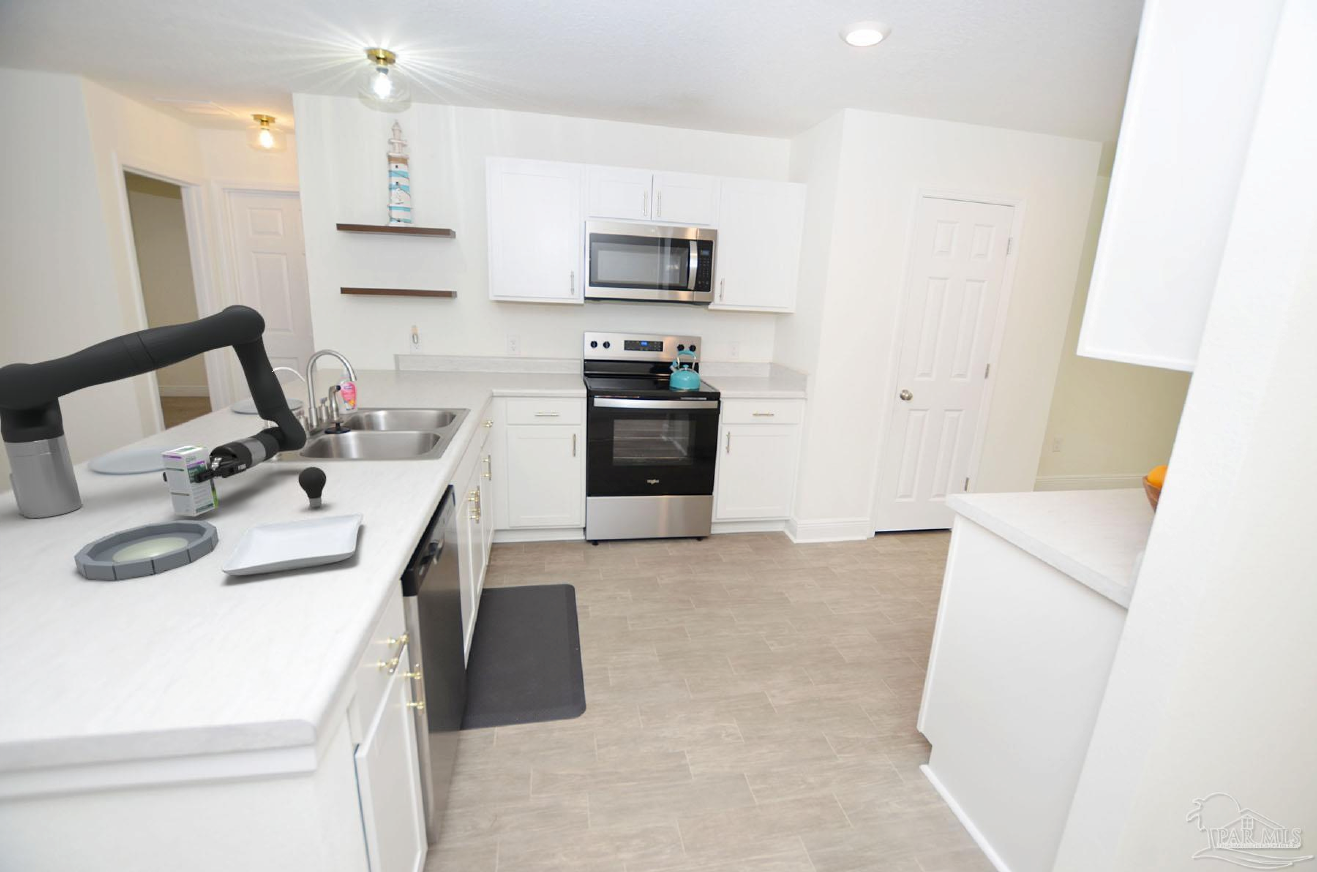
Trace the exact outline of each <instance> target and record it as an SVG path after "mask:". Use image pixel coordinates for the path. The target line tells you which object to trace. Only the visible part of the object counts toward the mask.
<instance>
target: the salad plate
mask: <svg viewBox="0 0 1317 872" xmlns="http://www.w3.org/2000/svg"><path fill="white" fill-rule="evenodd" d="M363 516H364V515H363V514H362V513H360V512H358V513H348V514H347V513H346V514H337V515H329V516H319V517H309V518H304V519H295V520H293V519H292V520H286V521H279V522H271V523H265V524H264V523H263V524H256V525H250V526H249V527H248V528H247V529H246V531H244V534H243V535H242V537H241V538H240V540H239V542H238V544H237V545H236V546H235V548H234V549H233V550H232V552H231V554H230V555H229V556H228V558H227V560H226V561H225V562H224V563H223V565H222V567H221V571H222V573H224V574H227V575H230V576H231V575H232V576H248V575H250V576H251V575H261V574H268V573H275V572H276V573H277V572H282V571H283V570H284V571H291V570H297V569H303V568H310V567H317V566H323V565H329V564H333V563H336V562H341V561H344V560H346V559H348V558H350V557H352V555H354V553H356V548H357V539H358V538H357V537H358V532H359V529H360V525H361V523H362V520H363ZM260 573H261V574H260Z"/></svg>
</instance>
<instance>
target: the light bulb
mask: <svg viewBox="0 0 1317 872" xmlns="http://www.w3.org/2000/svg"><path fill="white" fill-rule="evenodd" d="M297 481H298V483H299V486H300V487H301V489H302V490H303V491H304V492H305V493H306V496H307V498H308V501H309V506H310V507H313V508H314V509H318V508H319V507H320V506H321V505H322V504H323V503H322V502H323V499H322V496H323V491H324V490H323V489H324V488H325V485H326V483H327V475H326V473H325V471H324V470H322V469H321V468H319V467H317V466H310V467H306V468H305V469H303V470H301V472H300V473H299V475H298V479H297Z"/></svg>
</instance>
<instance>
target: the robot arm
mask: <svg viewBox="0 0 1317 872" xmlns="http://www.w3.org/2000/svg"><path fill="white" fill-rule="evenodd" d="M265 330H266V322H265V318H264V317H263V316H262V314H261V313H260V312H258V311H257V309H254V308H252V307H250V306H247V305H244V304H232V305H229V306H227V307H225V308H224V309H223V310H222V311H219V312H217V313H214V314H213V315H209V316H207V317H204V318H201V319H197V320H195V321H190V322H187V323H179V324H170V325H164V326H157V327H153V328H152V327H151V328H148V329H147V328H145V329H142V330H136V331H135V332H130V333H126V334H124V335H119V336H115V337H113V338H110V339H106V340H104V341H101V342H98V343H95V344H93V345H91V346H88V347H85V348H84V349H81V350H79V351H76V352H73V353H72V354H69V355H66V356H62V357H59V358H55V359H49V360H44V361H41V362H36V363H26V362H16V363H15V362H14V363H9V364H6V365H5V366H2V367H1V368H0V434H1V439H2V441H3V444H4V448H5V452H6V455H7V459H8V462H9V466H10V469H11V472H10V473H9V480H10V483H11V486H12V490H13V495H14V498H15V502H16V506H17V509H18V512H19V515H23V516H24V517H25V518H28V519H29V518H30V519H32V518H33V519H39V518H40V519H41V518H48V517H55V516H59V515H60V516H61V515H64V514H67V513H71V512H74V511H76V510H78V509H80V508H82V507H83V504H82V503H83V501H82V498H81V495H80V490H79V486H78V483H77V479H76V474H75V471H74V465H73V461H72V457H71V454H70V450H69V445H68V442H67V438H66V434H65V430H64V425H63V423H64V421H63V414H62V410H61V406H60V402H59V398H60V397H64V396H66V395H68V394H71V393H74V392H77V391H80V390H84V389H86V388H89V387H94V386H99V385H103V384H107V383H113V382H117V381H121V380H125V379H128V378H133V377H137V376H139V375H144V374H148V373H150V372H154V371H158V370H160V369H163V368H167V367H169V366H173V365H176V364H178V363H180V362H183V361H185V360H186V361H187V360H188V359H192V358H194V357H195V356H198V355H200V354H203V353H206V352H210V351H212V350H217V349H222V348H226V347H232V348H233V350H234V351H235V354H236V356H237V358H238V361H239V363H240V365H241V368H242V371H243V373H244V376H245V380H246V384H247V386H248V389H249V392H250V395H251V397H252V400H253V403H254V405H255V408H256V410H257V413H258V415H259V418H260V419H262V420H264V421H269V422H273V423H275V424H276V425H277V426H271V427H267V428H264V429H262V430H261V431H259V432H257V433H256V434H254V435H253V434H252V435H251V436H248V437H245V438H239V439H236V440H233V441H231V442H227V443H224V444H222V445H219V446H217V447H214V448H213V449H212V450H211V451H210V453H209V459H210V464H211V468H210V469H206V470H203V471H201V472H198V473H195V474H194V480H195V483H202V482H204V481H207V480H209V479H213V480H215V479H219V478H221V479H227V478H230V477H233V476H236V475H239V474H241V473H245V472H247V470H249V469H252V468H254V467H256V466H257V465H259V464H261V463H264V462H266V461H269V460H270V459H273V457H275V456H276V455H277V454H278V453H283V452H292V451H298V450H299V451H300V450H302V449H303V448H304V447H305V446H306V444H307V439H308V438H307V433H306V430H305V428H304V427H303V425H302V424H301V422H300V421H299V419H298V418H297V417H296V416H295V413H293V411H292V410H291V409H290V407H289V404H288V401H287V399H286V396H285V392H284V390H283V388H282V386H281V383H280V380H279V379H278V376H277V374H276V372H275V371H273V370H274V368H273V366H272V363H271V362H270V360H269V357H268V355H267V351H266V349H265V344H264V340H263V334H264V332H265ZM272 371H273V372H272ZM162 478H163V481H164V482H165V483H168V482H167V477H166V473H165V471H164V472H163V473H162Z"/></svg>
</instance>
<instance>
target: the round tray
mask: <svg viewBox="0 0 1317 872" xmlns="http://www.w3.org/2000/svg"><path fill="white" fill-rule="evenodd" d="M218 542H219V535H218V530H217V526H215V525H214V524H212V523H209V522H208V521H205V520H195V519H194V520H192V519H191V520H189V519H188V520H187V519H181V520H179V519H178V520H170V521H163V522H162V521H161V522H152V523H148V524H143V525H139V526H135V527H131V528H128V529H124V530H119V531H116V532H114V533H109V534H108V535H105V536H103V537H101V538H98V539H96V540H94V541H91V542H88V543H87V544H85V545H84V546H83V547H82V548H81V549H79V551H78V552H76V554H75V555H74V556H73V559H74V562H75V566H76V569H77V572H78V573H79V574H81V575H82V576H83V577H84V578H85V579H86V580H95V579H97V580H99V579H100V580H102V581H121V579H122V580H127V579H133V578H132V577H135V578H138V577H137V576H141V577H146V576H145V575H147V576H151V575H150V574H154V573H155V574H156V573H157V574H160V573H159V572H161V573H163V572H162V571H164V570H167V571H170V570H172V569H171V568H173V569H176V568H179V567H178V566H180V565H183V566H186V565H188V563H189V562H190V563H193V562H195V561H197V560H198V558H199V559H201V558H202V557H204V556H206V555H209V553H211V552H213V551H214V550H215V548H216V546H217V544H218ZM210 551H211V552H210ZM205 554H206V555H205ZM196 559H197V560H196ZM194 560H195V561H194ZM190 563H189V564H190ZM185 564H186V565H185ZM180 567H181V566H180ZM169 569H170V570H169ZM164 572H165V571H164ZM155 574H154V575H155ZM100 580H99V581H100Z"/></svg>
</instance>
